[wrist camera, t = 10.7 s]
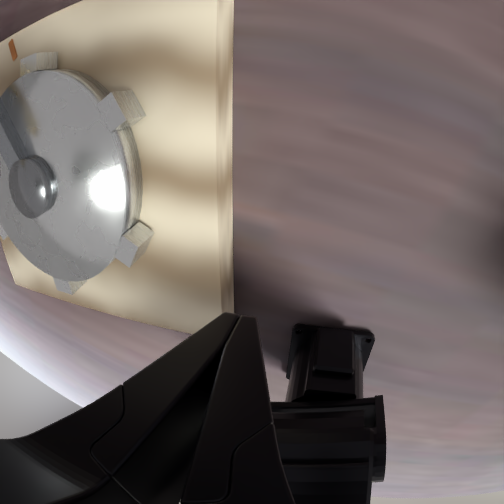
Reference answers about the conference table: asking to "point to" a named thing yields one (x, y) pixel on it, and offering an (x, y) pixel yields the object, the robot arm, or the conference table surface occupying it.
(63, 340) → the conference table surface
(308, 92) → the conference table surface
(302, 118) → the conference table surface
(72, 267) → the silver lever dial
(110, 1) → the base plate
